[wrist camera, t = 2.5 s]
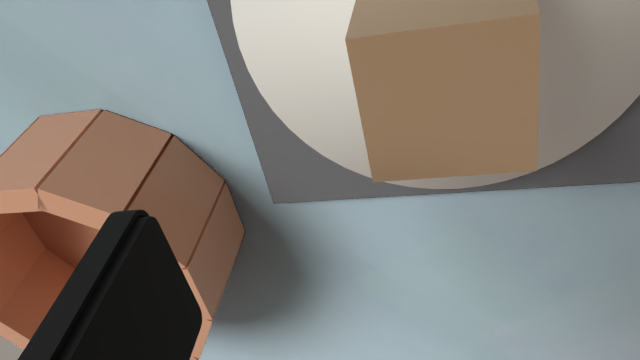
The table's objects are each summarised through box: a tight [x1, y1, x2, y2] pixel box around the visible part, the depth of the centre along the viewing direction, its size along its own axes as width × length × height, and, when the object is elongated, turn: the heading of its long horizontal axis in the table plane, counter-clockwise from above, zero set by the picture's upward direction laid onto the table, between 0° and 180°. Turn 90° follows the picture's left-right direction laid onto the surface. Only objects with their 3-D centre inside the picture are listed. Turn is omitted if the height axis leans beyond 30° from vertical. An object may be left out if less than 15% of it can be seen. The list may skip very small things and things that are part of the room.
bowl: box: [0, 109, 245, 360], centre depth 25 cm, size 11×11×5 cm
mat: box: [207, 0, 640, 204], centre depth 18 cm, size 15×15×1 cm
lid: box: [230, 0, 640, 189], centre depth 15 cm, size 13×13×6 cm
